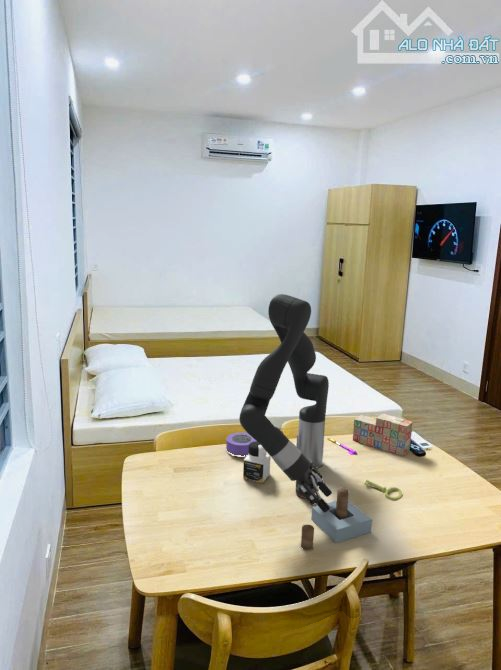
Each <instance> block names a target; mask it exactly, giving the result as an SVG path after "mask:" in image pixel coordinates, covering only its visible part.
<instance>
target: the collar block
mask: <svg viewBox="0 0 501 670" xmlns="http://www.w3.org/2000/svg"><path fill="white" fill-rule="evenodd" d="M336 501H337V500H334V501H329V502H326V503H327V504H328V505H329V506H330V509H329V510H328V511H327V512H323V511H322V510H321V509H320V508H319V507H318V505H315V506H314V505H313V506H312V507H311V521H313V523H314V524H315V525H316V526H317V527H319V528H320V529H321V530H322V532H324V533H325V534H326V535H327V536H328V537H329V538H330V539H331V540H332V541H333V542H334V543H335V544H337V543H341V542H344V541H346V540H347V541H348V540H349V539H353V538H355V537H356V538H357V537H361V536H363V535H366V534H369V533H372V524H373V519H372V518H371V517H370V516H369V515H367V514H366V513H365V512H364V511H362V510H361V509H360V508H359V507H358V506H356V505H355V504H353V503H352V502H351V501H350V500H349V499H348V509H347V518H345V519H342V520H339V519H338V518H337V517H336V516H335V515H336Z"/></svg>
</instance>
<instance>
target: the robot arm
mask: <svg viewBox="0 0 501 670" xmlns="http://www.w3.org/2000/svg"><path fill="white" fill-rule="evenodd" d="M267 310H268V318H269V322H270V323H271V325H272V328H273V329H274V331H275V332H276V335H277V336H278V339H279V340H280V344H279V345H278V346H277V347H276V348H275V349H273V350H272V352H270V353H269V354H268V355H267V356H265V357H264V359H262V360H261V362H260V363H259V365H258V367H257V368H256V371H255V374H254V376H253V378H252V381H251V384H250V387H249V392H248V394H247V396H246V398H245V401H244V403H243V405H242V407H241V410H240V413H239V424H240V426H241V427H242V429H243V430H244V431H245V433H248V434H249V435H250V436H252V437H253V438H254V439H255V440H256V441H257V442H259V443H260V444H261V446H262V447H263V448H264V449H265V450H266V454H267V455H270V458H271V459H272V460H273V462H274V463H275V464H276V466H277V467H279V468H280V470H281V471H282V472H283V473H284V474H285V476H286V477H287V478H288V479H289V480H290V481H291V482H296V480H298V481H299V482H300V484H301V486H300V487H299V488H298V489H299V491H300V492H301V493H302V494H303V496H304V497H305V499H306V500H307V502H308V503H309V504H310V505H311V506H314V505H315V504H316V506H318V507H319V508H320V509H321V510H322V511H323V512H327V511H328V510H329V509H330V506H329V505H328V504H327V503H328V502H326V501H325V499H323V498H322V496H321V494H320V492H319V491H321V493H322V494H323V495H324V497H327V498H329V496H331V495H332V493H333V491H332V490H331V488H329V486H328V485H327V484H326V483H325V481H324V476H323V474H322V473H321V472H320V471H319V470H318V469H319V468H321V467H322V466H323V459H324V447H325V445H324V444H325V430H326V416H327V415H326V413H327V404H328V403H327V402H328V395H329V386H330V385H329V384H330V383H329V382H330V381H329V378H328V376H327V375H324V374H317V373H308V372H310V371H311V369H312V368H313V367H314V365H315V363H316V360H317V354H316V351H315V347H314V344H313V342H312V340H311V338H310V337H309V335H307V334H306V333H305V330H306V328H307V326H308V324H309V322H310V319H311V315H312V307H311V304H310V303H309V301H307V300H303V299H300V298H298V297H295V296H292V295H289V294H284V293H281V294H280V293H278V294H276V295H274V296H273V297H272V298H271V300H270V301H269V305H268V309H267ZM287 364H288V365H289V368H290V372H291V373H292V377H293V381H294V389H295V392H296V395H297V396H298V398H300V399H302V400H307V401H311V402H312V401H313V402H315V404H313V405H312V404H311V405H308V406H304V407H302V408H300V410H299V412H298V413H299V414H298V430H297V431H298V432H297V433H298V434H297V435H296V444H294V443H293V442H292V441H291V440H290V439H289V438H288V437H287V436H286V435H285V434H284V432H283V431H282V430H281V429H280V428H279V427H277V426H275V425H274V424H273V423H272V422H271V421H270V420H269V417H267V416H266V414H267V409H268V408H269V404H270V401H271V399H272V398H273V396H274V395H275V393H276V390H277V387H278V385H279V382H280V379H281V376H282V375H283V374H282V373H283V372H284V370H285V367H286V365H287ZM308 459H311V460H312V464H313V465H312V464H311V463H310V461H309V460H308ZM304 497H303V498H304Z"/></svg>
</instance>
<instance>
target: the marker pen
mask: <svg viewBox="0 0 501 670" xmlns="http://www.w3.org/2000/svg"><path fill="white" fill-rule="evenodd" d="M326 439H327V441H330V442H331V443H333V444H337V445H338V446H340V447H341V448H343V449H345V450H346V451H348V452H347V453H348V454H349V455H351V456H352V455H357V453H358V452H357V451H356V450H354V449H352V448H350V447H348V446H346V445H344V444H342V443H339V442H337V440H335V439H332V438H330V437H326Z"/></svg>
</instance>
